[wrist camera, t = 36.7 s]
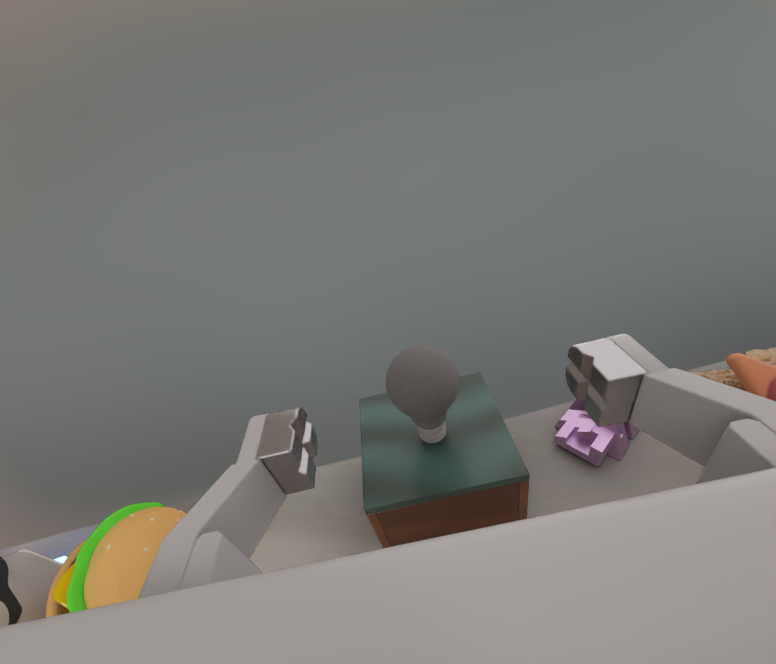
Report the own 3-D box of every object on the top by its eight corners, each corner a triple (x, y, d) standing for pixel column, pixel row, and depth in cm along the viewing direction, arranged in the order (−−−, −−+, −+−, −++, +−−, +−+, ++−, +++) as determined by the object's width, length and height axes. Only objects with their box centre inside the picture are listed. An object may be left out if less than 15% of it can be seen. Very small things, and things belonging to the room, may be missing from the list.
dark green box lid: (361, 404, 38) (359, 398, 38) (480, 377, 38) (480, 372, 37) (366, 514, 28) (363, 509, 28) (529, 480, 28) (529, 474, 27)
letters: (610, 476, 34) (621, 440, 31) (544, 439, 39) (547, 404, 35) (641, 425, 38) (655, 388, 34) (578, 397, 42) (584, 362, 39)
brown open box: (377, 451, 42) (361, 409, 38) (485, 428, 42) (482, 382, 37) (386, 554, 33) (366, 515, 28) (526, 526, 32) (529, 481, 28)
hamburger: (-19, 608, 24) (78, 560, 23) (118, 495, 36) (186, 460, 35) (87, 727, 26) (180, 686, 25) (184, 581, 37) (249, 550, 36)
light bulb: (419, 402, 36) (402, 325, 30) (475, 420, 32) (467, 337, 27) (390, 448, 32) (364, 370, 26) (450, 473, 29) (435, 390, 23)
